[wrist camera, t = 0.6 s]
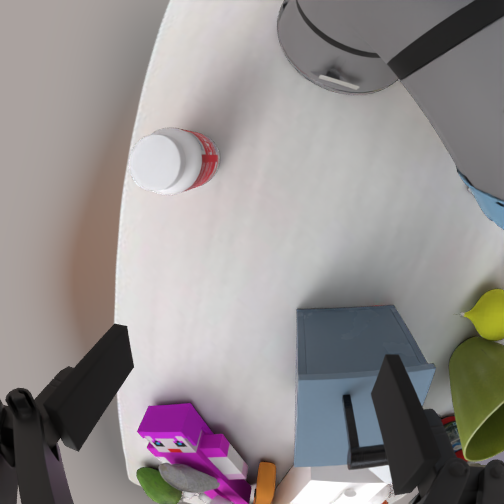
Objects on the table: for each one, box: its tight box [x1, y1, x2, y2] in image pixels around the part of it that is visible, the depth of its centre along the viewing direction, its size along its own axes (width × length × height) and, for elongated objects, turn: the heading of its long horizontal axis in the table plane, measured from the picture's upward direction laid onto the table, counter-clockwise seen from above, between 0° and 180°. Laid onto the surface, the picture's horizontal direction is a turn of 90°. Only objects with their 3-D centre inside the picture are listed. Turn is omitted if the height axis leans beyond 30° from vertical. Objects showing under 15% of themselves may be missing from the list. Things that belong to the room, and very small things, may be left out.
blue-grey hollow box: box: [294, 305, 428, 455], centre depth 32 cm, size 14×13×13 cm
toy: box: [137, 403, 251, 504], centre depth 46 cm, size 14×6×30 cm
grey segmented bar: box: [183, 491, 212, 504], centre depth 54 cm, size 20×4×7 cm
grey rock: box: [159, 463, 220, 493], centre depth 40 cm, size 12×8×5 cm
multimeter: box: [253, 462, 276, 504], centre depth 46 cm, size 9×18×3 cm
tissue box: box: [271, 465, 387, 504], centre depth 43 cm, size 14×25×11 cm, turn 167°
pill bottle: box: [129, 128, 220, 195], centre depth 28 cm, size 6×6×11 cm
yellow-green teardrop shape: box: [453, 289, 504, 341], centre depth 31 cm, size 7×7×10 cm
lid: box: [294, 363, 436, 470], centre depth 22 cm, size 14×13×9 cm
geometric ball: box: [365, 484, 391, 504], centre depth 45 cm, size 8×8×8 cm
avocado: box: [137, 467, 182, 504], centre depth 51 cm, size 8×8×12 cm
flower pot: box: [449, 337, 504, 462], centre depth 29 cm, size 15×15×16 cm
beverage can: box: [441, 416, 475, 463], centre depth 36 cm, size 7×7×12 cm
